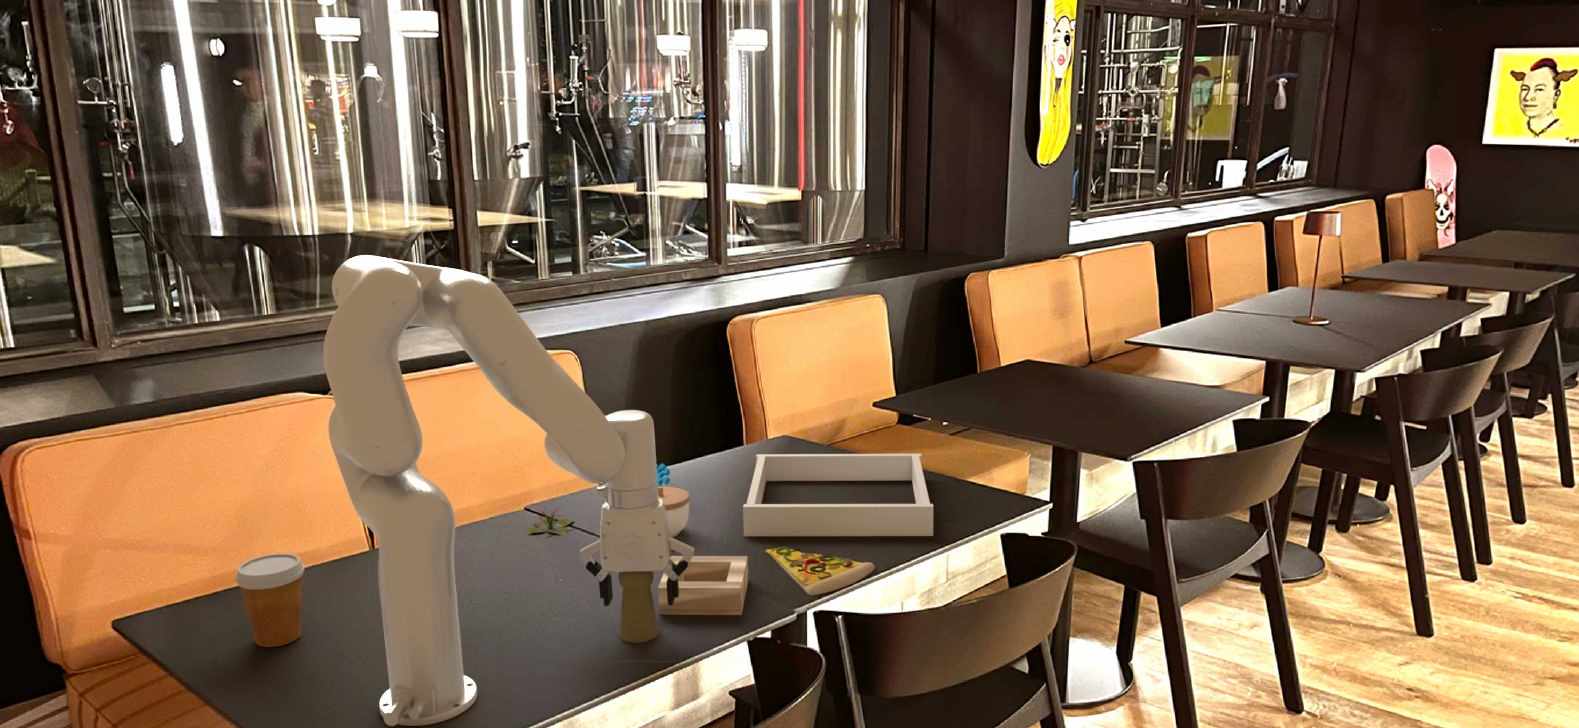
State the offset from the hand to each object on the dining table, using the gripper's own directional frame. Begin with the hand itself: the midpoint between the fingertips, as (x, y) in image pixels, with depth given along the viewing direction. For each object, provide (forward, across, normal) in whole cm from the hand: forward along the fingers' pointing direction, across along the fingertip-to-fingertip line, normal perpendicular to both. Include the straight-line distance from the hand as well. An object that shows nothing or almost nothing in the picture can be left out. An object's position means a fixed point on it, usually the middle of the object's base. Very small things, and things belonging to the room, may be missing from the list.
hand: (640, 601), depth 167 cm
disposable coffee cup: (+4, -55, -2) cm, 56 cm away
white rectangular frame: (+6, +30, +56) cm, 63 cm away
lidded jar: (+6, -3, +41) cm, 41 cm away
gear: (+7, -10, +56) cm, 58 cm away
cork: (+5, 0, 0) cm, 5 cm away
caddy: (+5, +8, +13) cm, 16 cm away
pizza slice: (+7, +24, +25) cm, 35 cm away
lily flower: (+6, -26, +44) cm, 51 cm away
